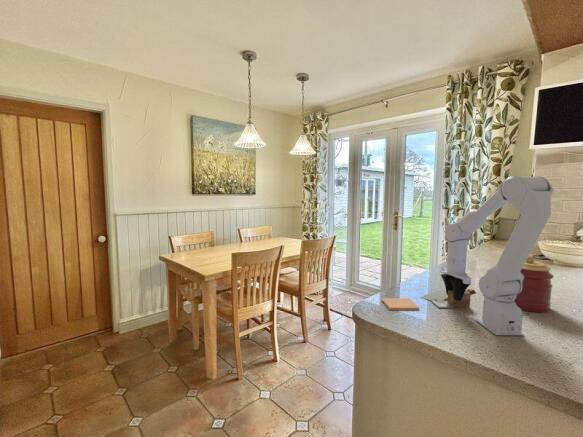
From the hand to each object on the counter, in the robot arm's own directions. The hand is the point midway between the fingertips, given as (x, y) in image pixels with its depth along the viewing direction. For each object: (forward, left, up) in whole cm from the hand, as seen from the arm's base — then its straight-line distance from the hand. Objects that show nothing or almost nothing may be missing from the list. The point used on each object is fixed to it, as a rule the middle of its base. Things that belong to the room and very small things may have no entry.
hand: (453, 297), depth 99 cm
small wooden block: (0, +1, -3) cm, 3 cm away
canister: (+1, -26, -3) cm, 26 cm away
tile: (0, +19, -3) cm, 19 cm away
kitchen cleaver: (+10, -4, -3) cm, 11 cm away
